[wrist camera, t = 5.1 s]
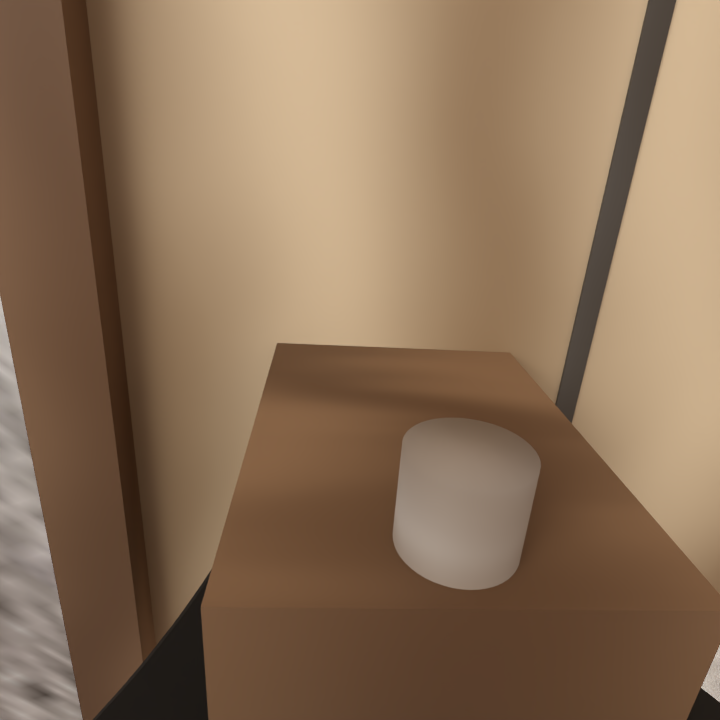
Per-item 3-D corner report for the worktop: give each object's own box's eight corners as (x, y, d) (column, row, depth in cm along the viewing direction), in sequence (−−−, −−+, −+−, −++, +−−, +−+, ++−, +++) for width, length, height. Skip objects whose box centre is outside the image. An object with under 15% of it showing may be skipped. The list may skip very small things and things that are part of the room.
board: (143, 831, 17) (104, 975, 14) (-33, -363, 7) (-302, -740, 4) (588, 822, 18) (638, 954, 15) (990, -223, 8) (1374, -440, 5)
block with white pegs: (276, 682, 13) (233, 1081, 7) (277, 290, 9) (192, 500, 4) (450, 682, 13) (534, 1066, 8) (519, 301, 10) (778, 513, 4)
